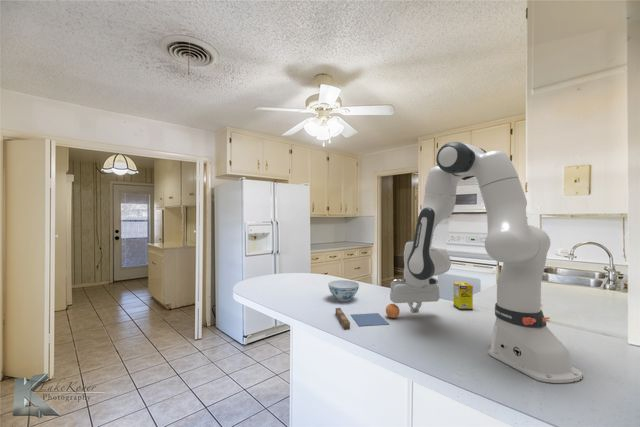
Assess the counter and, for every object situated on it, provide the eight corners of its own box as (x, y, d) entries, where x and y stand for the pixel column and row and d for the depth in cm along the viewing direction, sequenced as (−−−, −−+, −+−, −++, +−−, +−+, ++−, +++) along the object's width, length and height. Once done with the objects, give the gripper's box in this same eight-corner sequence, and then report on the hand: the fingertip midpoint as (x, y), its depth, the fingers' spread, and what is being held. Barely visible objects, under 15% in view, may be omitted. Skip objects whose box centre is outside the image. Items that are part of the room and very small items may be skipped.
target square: (389, 324, 110) (389, 324, 110) (358, 326, 108) (358, 325, 108) (378, 313, 122) (378, 313, 122) (350, 314, 120) (350, 314, 120)
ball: (386, 308, 114) (389, 321, 114) (400, 305, 114) (402, 318, 115) (383, 303, 120) (385, 316, 120) (395, 300, 120) (398, 313, 120)
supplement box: (473, 310, 126) (473, 285, 126) (459, 310, 126) (459, 285, 126) (466, 306, 132) (466, 282, 132) (453, 305, 132) (453, 282, 132)
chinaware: (358, 295, 148) (358, 280, 148) (359, 305, 133) (359, 288, 133) (329, 294, 149) (329, 279, 149) (327, 303, 134) (327, 287, 134)
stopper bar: (349, 329, 105) (349, 322, 105) (344, 329, 105) (344, 322, 105) (340, 313, 121) (340, 307, 121) (335, 314, 121) (335, 308, 121)
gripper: (393, 281, 113) (393, 316, 114) (441, 280, 116) (441, 314, 116) (387, 277, 120) (387, 311, 120) (433, 276, 123) (433, 308, 123)
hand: (414, 312), depth 118 cm, fingers closed
